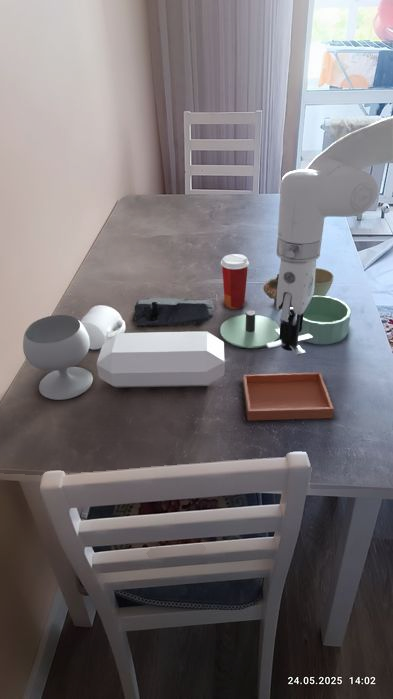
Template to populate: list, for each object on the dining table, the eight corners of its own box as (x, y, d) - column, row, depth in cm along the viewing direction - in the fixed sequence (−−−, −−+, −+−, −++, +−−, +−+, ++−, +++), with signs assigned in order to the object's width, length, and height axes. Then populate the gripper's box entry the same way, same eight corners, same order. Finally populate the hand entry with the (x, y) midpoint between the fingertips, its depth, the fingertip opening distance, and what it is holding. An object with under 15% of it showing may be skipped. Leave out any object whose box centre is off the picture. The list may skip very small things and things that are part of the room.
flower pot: (293, 290, 145) (295, 268, 141) (327, 289, 144) (330, 267, 140) (297, 306, 136) (300, 283, 132) (333, 306, 136) (336, 283, 132)
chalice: (29, 406, 105) (12, 349, 96) (41, 368, 116) (26, 314, 108) (94, 401, 105) (82, 344, 97) (99, 363, 117) (89, 309, 108)
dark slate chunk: (212, 329, 128) (212, 313, 125) (131, 328, 130) (129, 313, 127) (215, 301, 141) (215, 286, 138) (140, 301, 142) (139, 287, 140)
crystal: (224, 359, 100) (91, 361, 101) (225, 395, 105) (98, 397, 106) (223, 323, 112) (103, 325, 113) (223, 357, 117) (109, 359, 118)
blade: (308, 332, 99) (312, 298, 95) (318, 359, 92) (323, 323, 87) (262, 334, 100) (264, 299, 95) (268, 360, 92) (270, 324, 87)
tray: (319, 381, 108) (320, 372, 107) (332, 418, 98) (333, 408, 97) (242, 383, 108) (243, 374, 107) (247, 420, 98) (248, 411, 97)
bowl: (339, 314, 132) (342, 294, 129) (354, 343, 120) (357, 322, 117) (286, 315, 132) (287, 296, 129) (295, 345, 120) (297, 324, 117)
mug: (75, 347, 123) (69, 320, 119) (91, 328, 131) (86, 302, 126) (119, 352, 120) (114, 325, 116) (132, 333, 128) (128, 306, 123)
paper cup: (251, 300, 140) (253, 255, 132) (242, 312, 135) (243, 266, 127) (226, 295, 143) (226, 251, 135) (216, 307, 138) (215, 262, 130)
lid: (275, 317, 132) (277, 297, 129) (284, 349, 119) (286, 328, 116) (218, 319, 132) (218, 299, 129) (221, 351, 119) (221, 330, 116)
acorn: (290, 299, 140) (293, 267, 134) (292, 313, 133) (295, 280, 128) (262, 298, 141) (263, 267, 135) (262, 313, 134) (264, 280, 128)
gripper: (308, 268, 76) (298, 362, 87) (330, 232, 89) (319, 319, 99) (263, 261, 79) (258, 353, 89) (290, 227, 91) (283, 312, 102)
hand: (290, 334), depth 94 cm, fingers closed on blade, 3 cm apart
